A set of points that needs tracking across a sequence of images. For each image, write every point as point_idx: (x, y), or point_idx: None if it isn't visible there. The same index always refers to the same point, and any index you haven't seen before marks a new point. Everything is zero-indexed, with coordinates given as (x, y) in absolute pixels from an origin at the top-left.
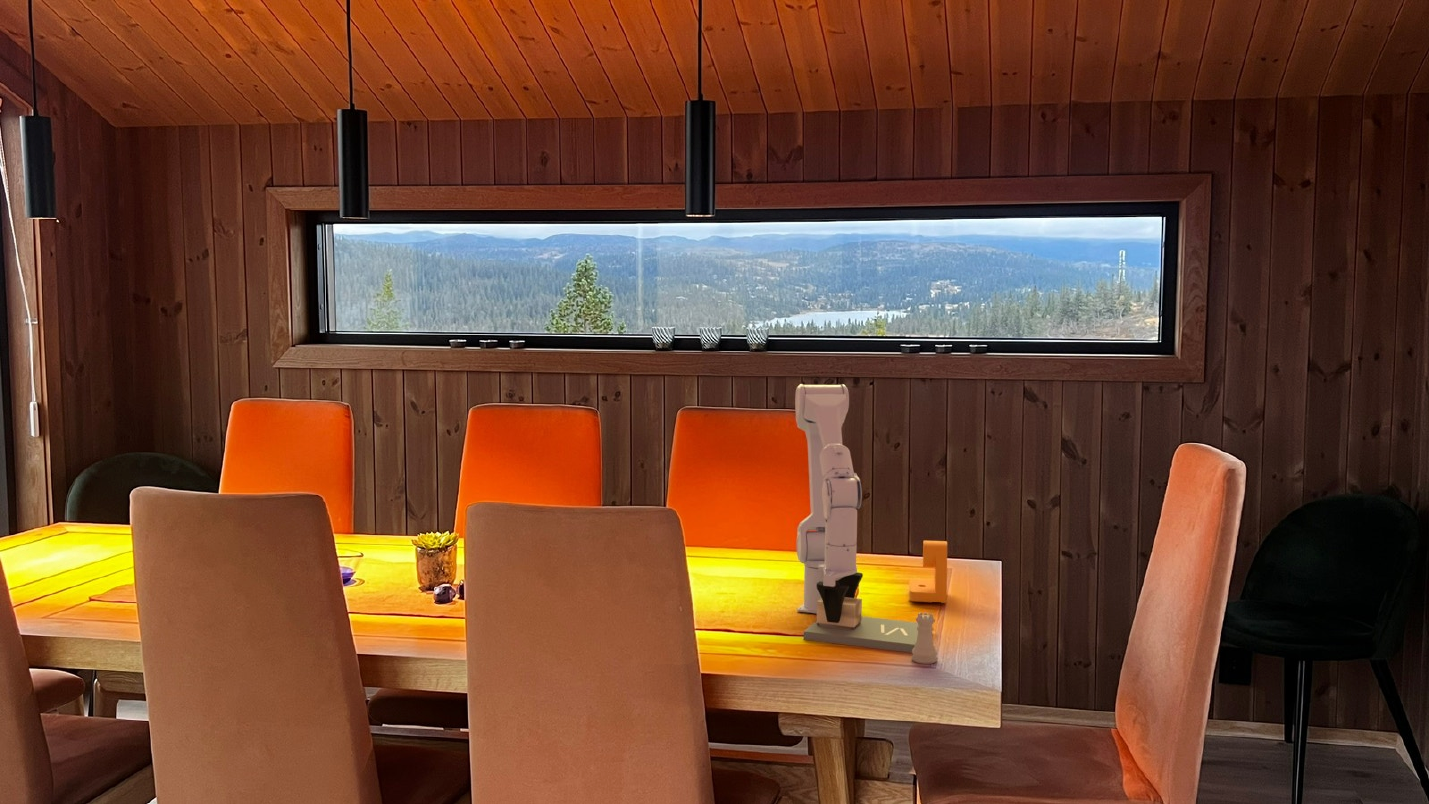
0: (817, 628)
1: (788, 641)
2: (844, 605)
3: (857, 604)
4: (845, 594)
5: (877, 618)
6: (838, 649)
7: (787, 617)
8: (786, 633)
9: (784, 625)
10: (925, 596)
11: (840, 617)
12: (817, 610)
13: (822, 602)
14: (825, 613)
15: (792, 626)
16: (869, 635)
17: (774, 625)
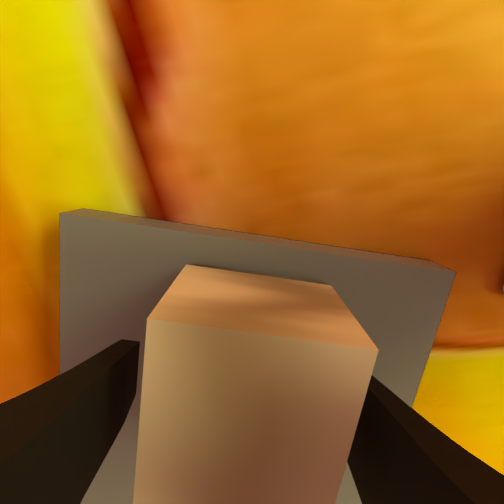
0: (136, 272)
1: (27, 142)
2: (136, 496)
3: None
4: (390, 492)
5: None
6: (9, 363)
7: (462, 53)
8: (157, 106)
9: (300, 66)
10: None
11: (124, 419)
12: (167, 293)
13: (144, 358)
14: (95, 355)
15: (291, 114)
16: (111, 484)
17: (287, 7)
